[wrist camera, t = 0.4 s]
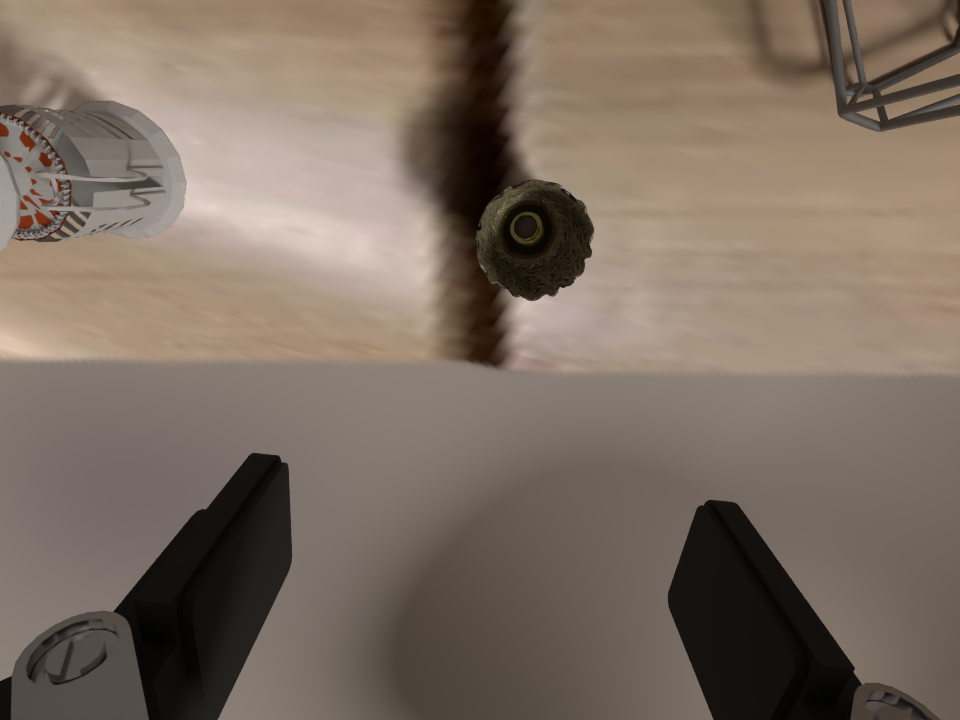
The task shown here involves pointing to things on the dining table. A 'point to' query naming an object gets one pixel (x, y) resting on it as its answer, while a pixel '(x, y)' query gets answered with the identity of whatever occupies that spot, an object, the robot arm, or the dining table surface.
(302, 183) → the dining table surface
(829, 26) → the geometric lantern
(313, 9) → the dining table surface
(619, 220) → the dining table surface
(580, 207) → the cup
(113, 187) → the french press
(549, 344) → the dining table surface
